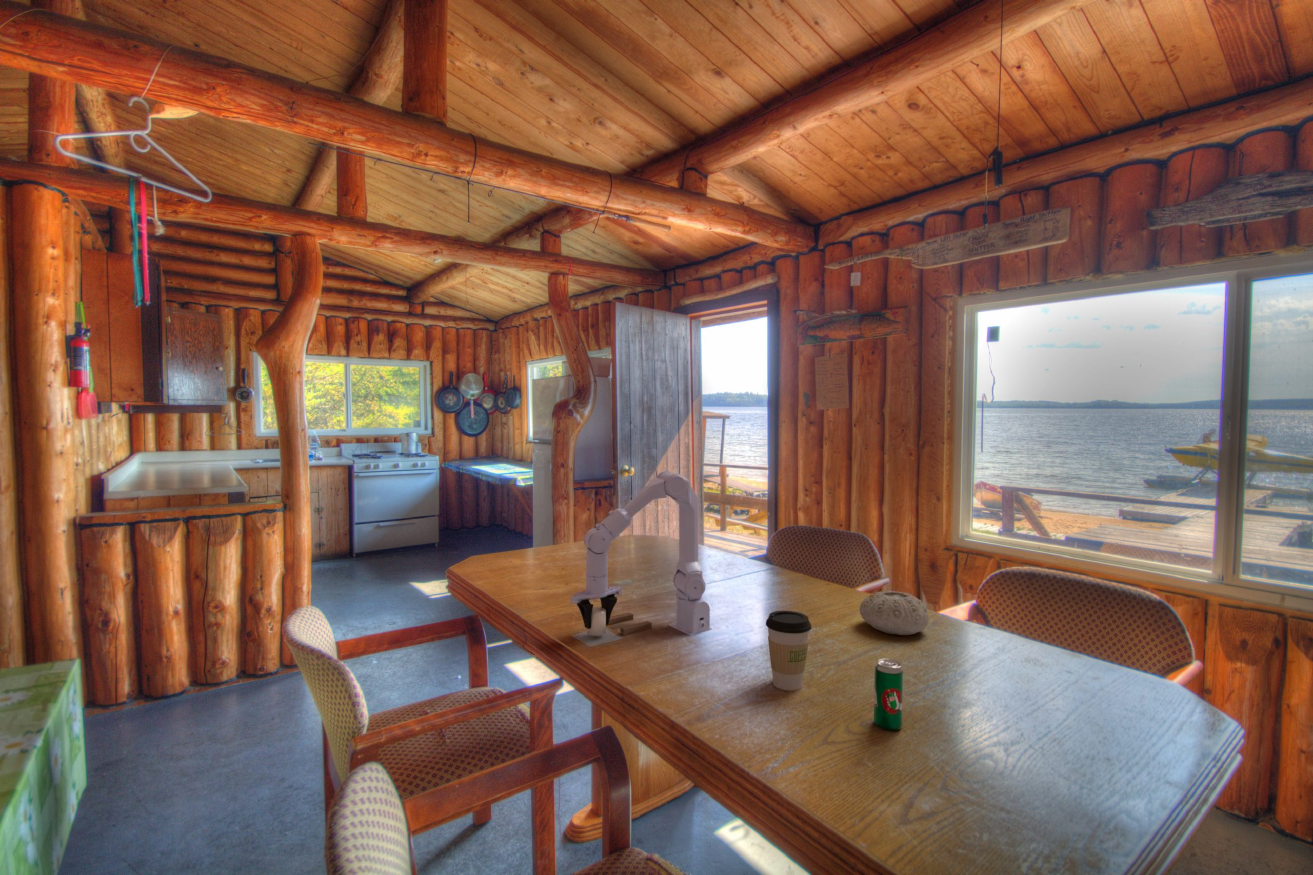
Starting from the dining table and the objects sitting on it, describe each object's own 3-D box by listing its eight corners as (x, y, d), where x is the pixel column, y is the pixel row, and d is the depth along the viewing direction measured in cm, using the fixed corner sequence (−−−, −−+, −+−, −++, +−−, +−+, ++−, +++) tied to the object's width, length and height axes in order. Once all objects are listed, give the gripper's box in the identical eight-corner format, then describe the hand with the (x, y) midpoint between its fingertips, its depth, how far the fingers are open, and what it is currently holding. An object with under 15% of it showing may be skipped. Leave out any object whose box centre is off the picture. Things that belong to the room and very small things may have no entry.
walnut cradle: (651, 630, 164) (651, 622, 164) (624, 637, 158) (624, 629, 158) (629, 619, 172) (629, 612, 172) (602, 625, 167) (602, 618, 167)
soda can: (878, 715, 117) (880, 655, 117) (905, 724, 114) (906, 662, 113) (869, 725, 113) (870, 663, 113) (897, 734, 110) (898, 670, 109)
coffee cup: (815, 694, 126) (816, 624, 125) (768, 694, 126) (769, 624, 125) (804, 674, 135) (805, 609, 135) (761, 674, 136) (762, 609, 135)
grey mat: (622, 639, 156) (622, 638, 156) (589, 648, 150) (589, 646, 150) (602, 629, 164) (602, 627, 164) (570, 636, 158) (570, 635, 158)
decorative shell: (862, 637, 159) (863, 600, 159) (856, 616, 177) (857, 582, 176) (934, 643, 155) (935, 606, 155) (921, 621, 172) (922, 587, 172)
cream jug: (609, 633, 157) (609, 610, 156) (592, 637, 154) (592, 614, 153) (596, 625, 162) (596, 603, 162) (579, 628, 160) (579, 606, 159)
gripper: (612, 567, 164) (611, 616, 165) (565, 575, 155) (565, 626, 156) (626, 572, 159) (625, 623, 159) (578, 581, 150) (578, 634, 150)
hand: (596, 625), depth 157 cm, fingers closed on cream jug, 5 cm apart
